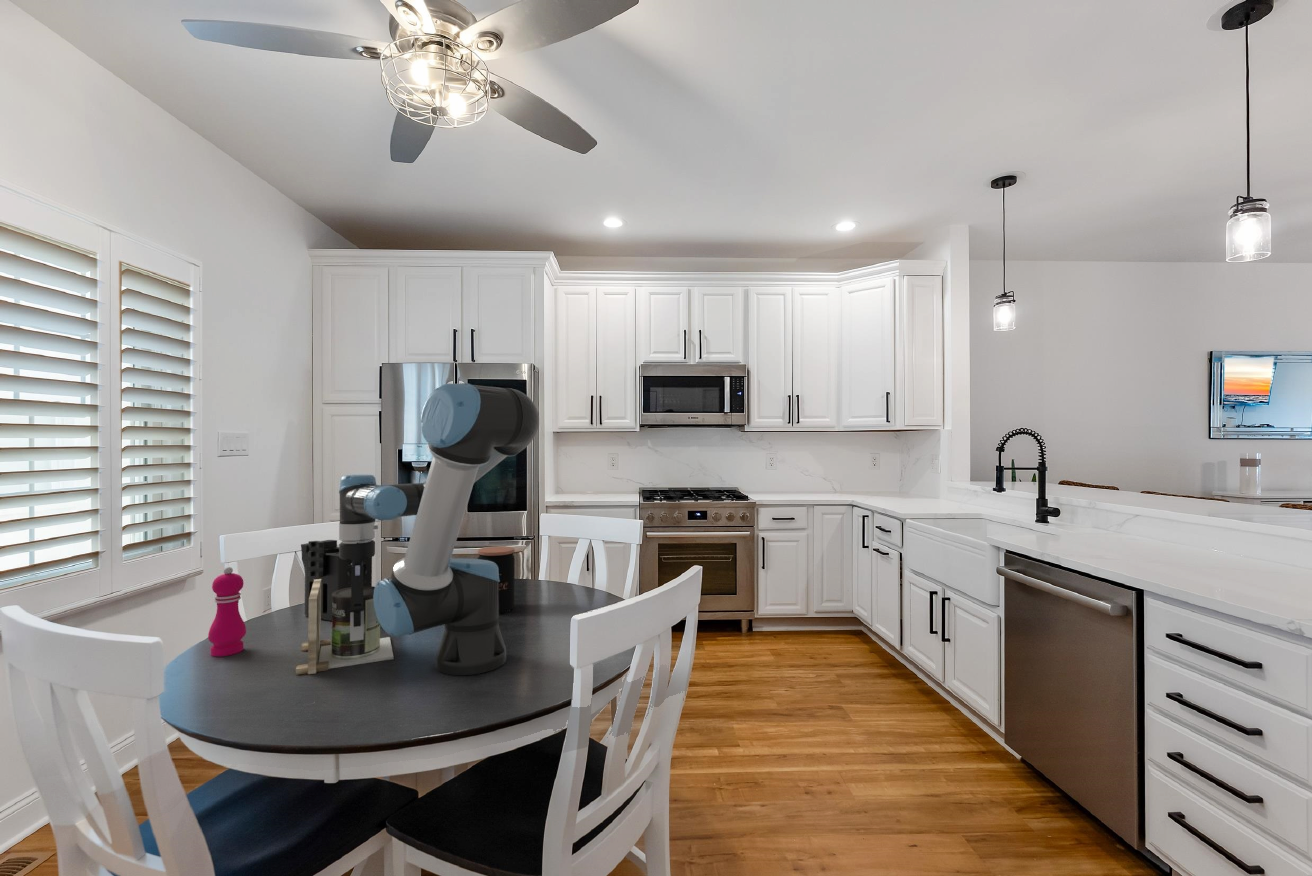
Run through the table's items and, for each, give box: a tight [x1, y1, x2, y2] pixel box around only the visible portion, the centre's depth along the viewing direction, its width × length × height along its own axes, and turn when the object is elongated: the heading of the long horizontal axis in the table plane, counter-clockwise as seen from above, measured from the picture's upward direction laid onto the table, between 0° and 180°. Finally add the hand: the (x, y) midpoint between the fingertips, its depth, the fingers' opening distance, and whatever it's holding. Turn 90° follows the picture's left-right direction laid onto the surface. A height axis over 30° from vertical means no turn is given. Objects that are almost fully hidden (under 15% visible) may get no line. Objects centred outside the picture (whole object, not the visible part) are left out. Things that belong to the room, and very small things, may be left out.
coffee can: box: [331, 585, 381, 659], centre depth 137 cm, size 10×10×14 cm
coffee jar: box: [477, 545, 516, 614], centre depth 173 cm, size 11×11×18 cm
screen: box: [295, 579, 332, 676], centre depth 134 cm, size 20×6×16 cm, turn 28°
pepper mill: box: [207, 566, 247, 658], centre depth 138 cm, size 7×7×20 cm
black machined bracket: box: [300, 539, 373, 622], centre depth 166 cm, size 12×21×22 cm, turn 67°
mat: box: [318, 636, 394, 670], centre depth 137 cm, size 15×15×1 cm
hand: (356, 631), depth 137 cm, fingers open, 13 cm apart
